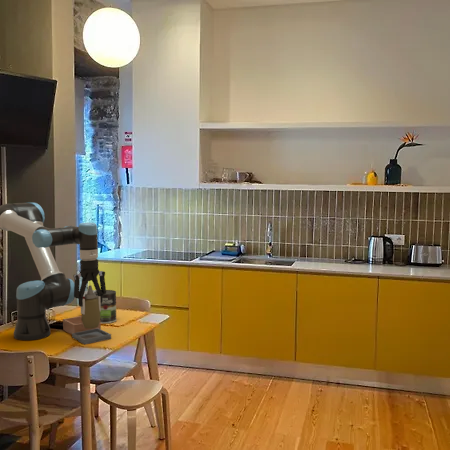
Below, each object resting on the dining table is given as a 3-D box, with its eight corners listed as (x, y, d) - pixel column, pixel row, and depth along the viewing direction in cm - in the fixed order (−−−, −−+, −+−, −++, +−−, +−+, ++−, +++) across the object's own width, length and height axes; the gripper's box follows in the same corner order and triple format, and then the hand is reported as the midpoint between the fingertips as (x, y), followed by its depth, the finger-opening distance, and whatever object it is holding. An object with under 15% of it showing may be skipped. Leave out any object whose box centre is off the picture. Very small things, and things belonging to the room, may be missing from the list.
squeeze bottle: (80, 325, 241) (79, 284, 240) (99, 323, 244) (98, 283, 243) (83, 330, 234) (81, 288, 232) (102, 328, 237) (101, 286, 235)
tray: (84, 344, 231) (84, 339, 231) (72, 337, 241) (72, 333, 240) (111, 338, 239) (110, 334, 239) (98, 332, 248) (98, 328, 248)
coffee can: (117, 322, 264) (116, 293, 263) (94, 324, 262) (93, 294, 261) (116, 317, 274) (115, 289, 273) (95, 318, 272) (94, 290, 271)
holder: (74, 336, 243) (74, 324, 243) (63, 330, 253) (62, 319, 252) (100, 330, 251) (100, 320, 250) (88, 325, 261) (88, 314, 260)
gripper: (70, 262, 227) (73, 317, 230) (113, 257, 240) (115, 310, 242) (63, 260, 233) (65, 314, 235) (105, 255, 245) (107, 307, 248)
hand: (90, 312), depth 239 cm, fingers closed on squeeze bottle, 6 cm apart
